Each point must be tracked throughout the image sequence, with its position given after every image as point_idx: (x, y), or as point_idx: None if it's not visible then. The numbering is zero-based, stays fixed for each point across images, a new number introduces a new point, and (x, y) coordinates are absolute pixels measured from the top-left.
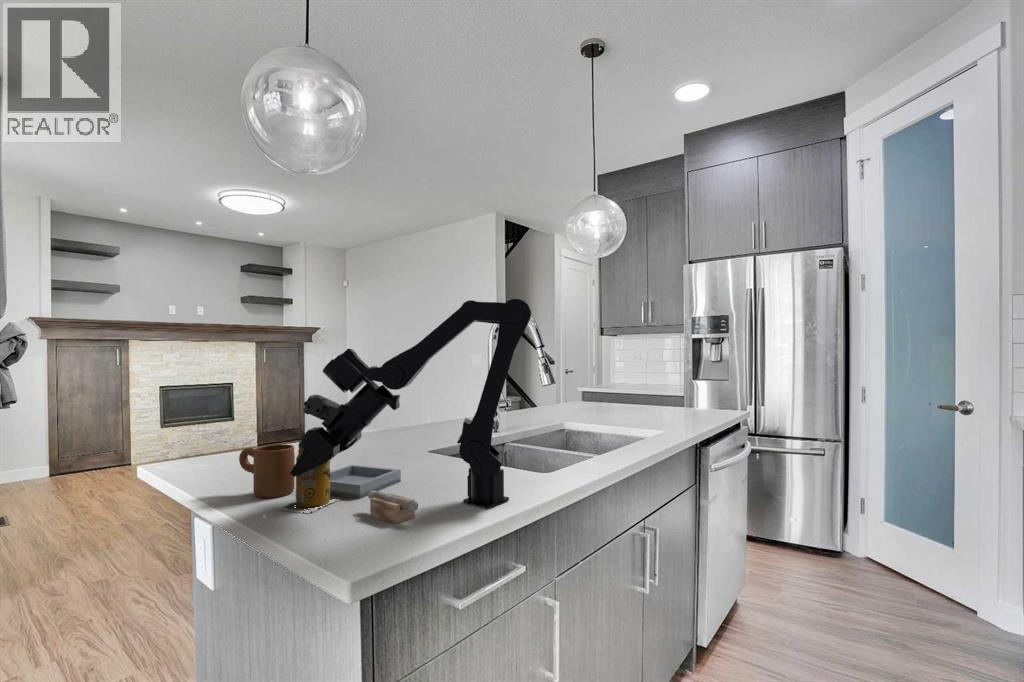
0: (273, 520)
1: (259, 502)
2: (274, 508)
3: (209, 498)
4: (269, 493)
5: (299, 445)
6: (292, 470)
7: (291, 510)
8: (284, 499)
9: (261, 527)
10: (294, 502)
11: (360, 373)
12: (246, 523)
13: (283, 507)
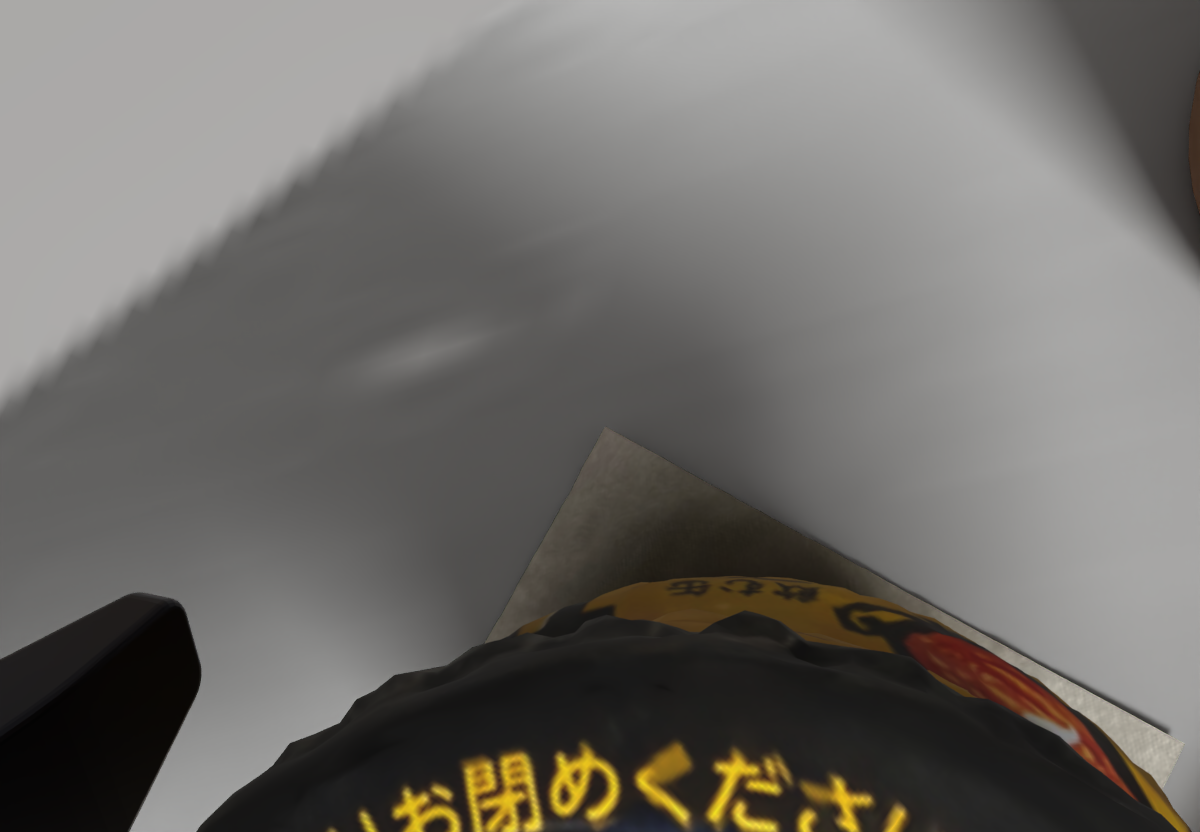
0: (247, 494)
1: (1019, 112)
2: (699, 380)
3: None
4: (1194, 151)
5: (357, 711)
6: (59, 642)
7: (531, 620)
8: (1113, 398)
9: (72, 433)
10: (880, 584)
11: None
12: (238, 245)
13: (657, 493)
